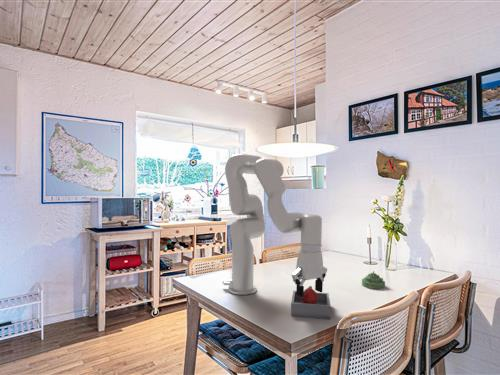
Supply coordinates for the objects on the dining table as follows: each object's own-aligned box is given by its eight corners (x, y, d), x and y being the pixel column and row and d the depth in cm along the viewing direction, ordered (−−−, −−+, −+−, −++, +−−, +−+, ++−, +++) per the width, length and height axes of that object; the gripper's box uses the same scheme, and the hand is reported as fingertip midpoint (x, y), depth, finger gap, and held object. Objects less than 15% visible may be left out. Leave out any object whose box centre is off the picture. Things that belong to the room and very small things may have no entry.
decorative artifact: (357, 283, 149) (370, 290, 139) (357, 269, 149) (371, 275, 139) (375, 282, 152) (389, 288, 142) (375, 267, 152) (389, 273, 142)
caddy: (291, 315, 111) (291, 303, 111) (293, 302, 124) (293, 290, 124) (330, 319, 108) (330, 306, 108) (328, 304, 122) (328, 293, 122)
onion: (303, 310, 113) (304, 288, 113) (300, 304, 119) (300, 283, 119) (319, 310, 113) (319, 288, 113) (315, 304, 119) (315, 283, 119)
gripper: (319, 244, 124) (318, 286, 124) (286, 248, 115) (285, 294, 115) (334, 247, 118) (333, 292, 118) (300, 252, 108) (299, 301, 109)
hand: (309, 293), depth 116 cm, fingers open, 9 cm apart
